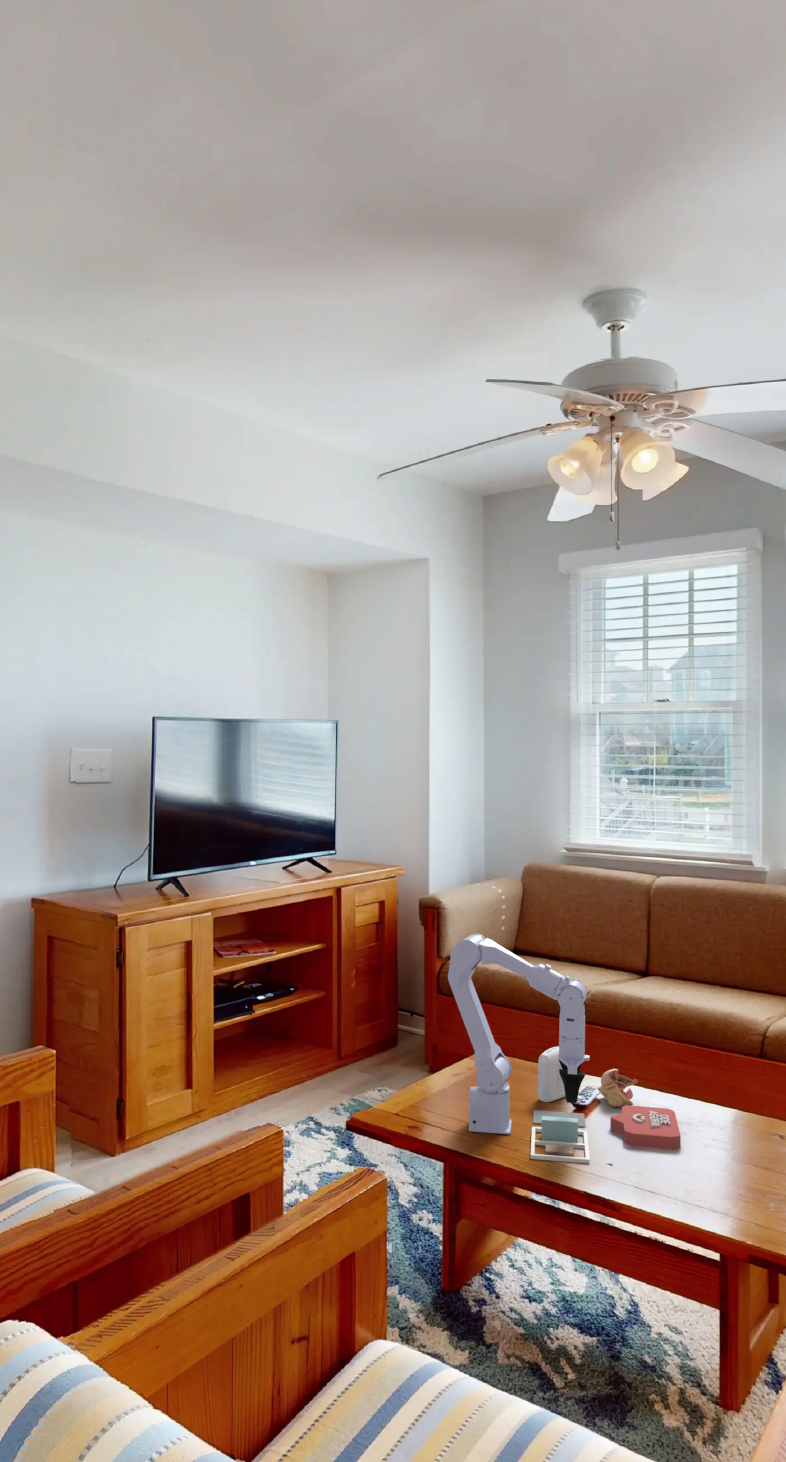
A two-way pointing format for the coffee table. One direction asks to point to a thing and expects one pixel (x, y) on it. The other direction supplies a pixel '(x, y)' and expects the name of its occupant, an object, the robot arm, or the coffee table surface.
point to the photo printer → (550, 1076)
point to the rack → (560, 1158)
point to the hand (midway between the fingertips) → (570, 1096)
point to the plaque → (647, 1127)
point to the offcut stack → (559, 1150)
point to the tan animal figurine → (616, 1088)
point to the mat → (538, 1116)
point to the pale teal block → (559, 1129)
